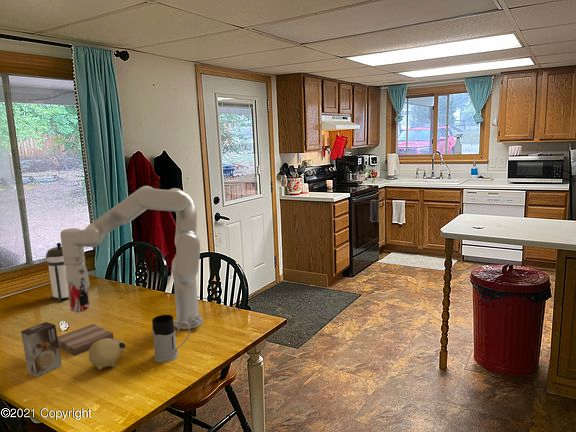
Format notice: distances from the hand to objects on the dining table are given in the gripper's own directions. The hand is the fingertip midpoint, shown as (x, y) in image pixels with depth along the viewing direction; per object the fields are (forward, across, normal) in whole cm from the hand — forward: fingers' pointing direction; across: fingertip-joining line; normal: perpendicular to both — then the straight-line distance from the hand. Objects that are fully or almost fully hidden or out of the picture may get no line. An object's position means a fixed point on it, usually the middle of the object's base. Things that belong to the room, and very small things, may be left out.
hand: (79, 302), depth 171 cm
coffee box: (+17, -9, +19) cm, 27 cm away
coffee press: (+17, +62, -21) cm, 68 cm away
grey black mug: (+17, -40, -14) cm, 46 cm away
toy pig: (+17, -26, +4) cm, 31 cm away
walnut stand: (+17, 0, 0) cm, 17 cm away
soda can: (+4, 0, 0) cm, 4 cm away
